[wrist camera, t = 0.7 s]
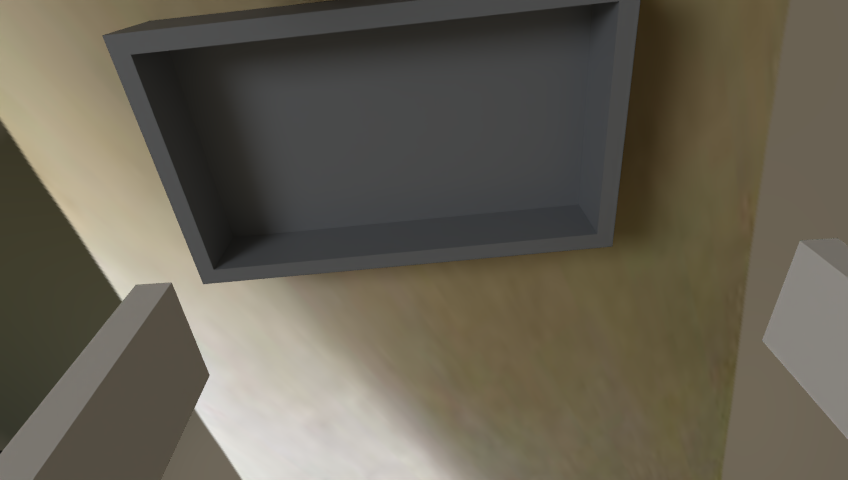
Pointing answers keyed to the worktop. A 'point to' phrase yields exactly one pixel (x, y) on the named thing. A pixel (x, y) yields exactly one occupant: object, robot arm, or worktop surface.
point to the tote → (384, 129)
